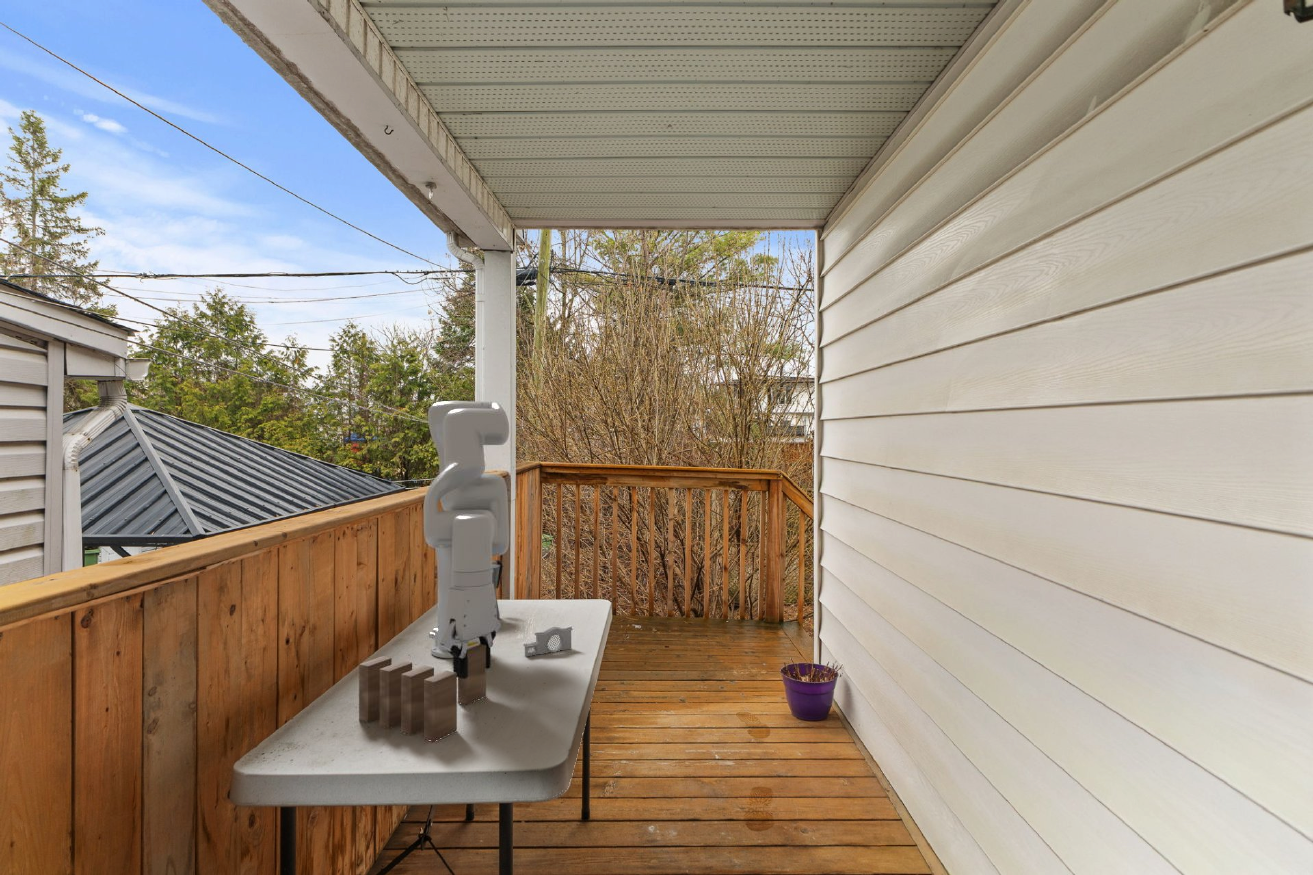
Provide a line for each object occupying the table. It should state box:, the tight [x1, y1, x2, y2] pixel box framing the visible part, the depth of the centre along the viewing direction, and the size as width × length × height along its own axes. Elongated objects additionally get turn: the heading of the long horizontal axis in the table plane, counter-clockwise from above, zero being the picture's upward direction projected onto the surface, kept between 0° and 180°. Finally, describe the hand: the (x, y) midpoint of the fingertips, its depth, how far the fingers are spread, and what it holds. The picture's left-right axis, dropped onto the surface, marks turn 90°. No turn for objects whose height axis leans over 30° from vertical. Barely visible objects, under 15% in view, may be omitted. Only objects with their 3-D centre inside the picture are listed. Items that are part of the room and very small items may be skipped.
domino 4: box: [423, 670, 458, 743], centre depth 110 cm, size 2×5×10 cm, turn 151°
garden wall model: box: [523, 626, 574, 657], centre depth 154 cm, size 12×2×6 cm, turn 123°
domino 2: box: [379, 660, 413, 730], centre depth 115 cm, size 2×5×10 cm, turn 151°
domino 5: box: [457, 644, 487, 706], centre depth 126 cm, size 2×5×10 cm, turn 151°
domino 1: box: [358, 655, 393, 723], centre depth 118 cm, size 2×5×10 cm, turn 152°
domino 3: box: [400, 665, 435, 736], centre depth 113 cm, size 2×5×10 cm, turn 151°
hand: (472, 671), depth 126 cm, fingers open, 5 cm apart
